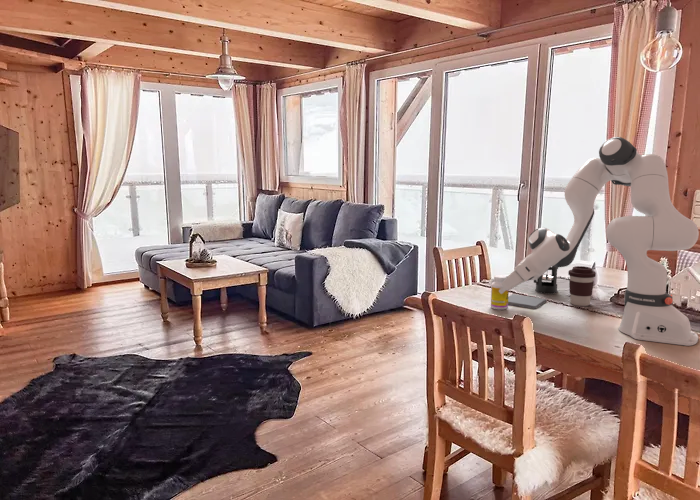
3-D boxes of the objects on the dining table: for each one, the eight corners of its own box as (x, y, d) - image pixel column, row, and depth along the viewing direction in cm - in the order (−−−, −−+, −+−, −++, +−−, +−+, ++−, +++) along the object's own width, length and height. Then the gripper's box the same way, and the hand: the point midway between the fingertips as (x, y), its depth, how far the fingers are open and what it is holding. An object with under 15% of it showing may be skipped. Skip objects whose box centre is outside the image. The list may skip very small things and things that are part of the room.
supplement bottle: (508, 310, 195) (510, 278, 193) (491, 309, 196) (492, 278, 194) (507, 305, 201) (508, 274, 199) (490, 305, 203) (491, 274, 201)
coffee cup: (577, 308, 196) (579, 270, 194) (561, 301, 206) (563, 266, 204) (599, 306, 198) (601, 269, 196) (582, 300, 208) (584, 264, 206)
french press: (563, 292, 221) (566, 240, 217) (549, 295, 216) (552, 242, 212) (541, 287, 231) (543, 237, 227) (527, 289, 226) (529, 239, 222)
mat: (546, 301, 206) (546, 298, 206) (535, 309, 196) (535, 306, 196) (512, 296, 215) (513, 293, 215) (500, 303, 205) (501, 300, 205)
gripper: (535, 257, 198) (510, 278, 206) (515, 266, 182) (489, 288, 190) (546, 269, 196) (520, 290, 204) (527, 280, 180) (500, 301, 188)
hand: (505, 289), depth 197 cm, fingers open, 8 cm apart
